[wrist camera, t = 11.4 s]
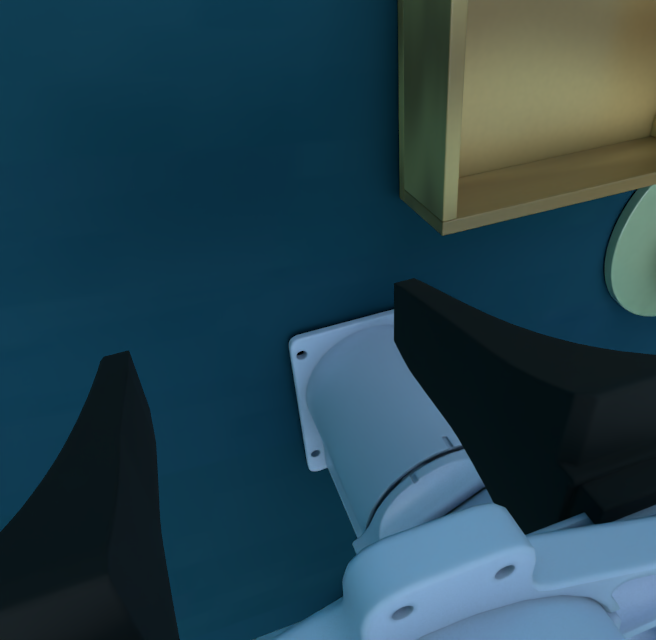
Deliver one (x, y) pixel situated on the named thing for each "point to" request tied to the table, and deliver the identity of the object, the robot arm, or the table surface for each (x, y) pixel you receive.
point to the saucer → (634, 255)
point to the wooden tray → (523, 105)
